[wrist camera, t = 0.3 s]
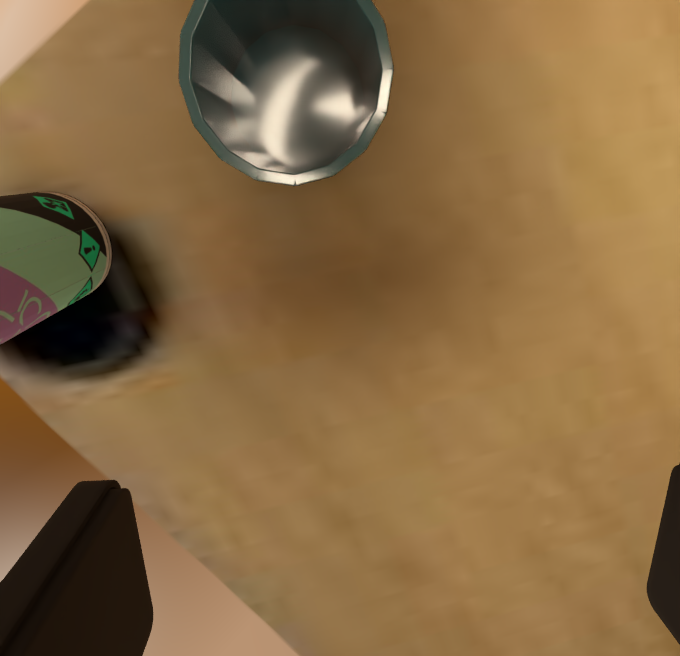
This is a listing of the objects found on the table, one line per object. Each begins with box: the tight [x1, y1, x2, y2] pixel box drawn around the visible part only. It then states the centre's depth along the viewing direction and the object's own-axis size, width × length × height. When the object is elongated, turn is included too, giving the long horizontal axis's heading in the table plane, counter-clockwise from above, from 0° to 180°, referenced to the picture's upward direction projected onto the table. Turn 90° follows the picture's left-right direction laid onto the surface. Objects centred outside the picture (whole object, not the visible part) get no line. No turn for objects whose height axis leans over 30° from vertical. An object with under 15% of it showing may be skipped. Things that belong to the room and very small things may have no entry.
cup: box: [178, 0, 394, 186], centre depth 20 cm, size 7×7×8 cm
